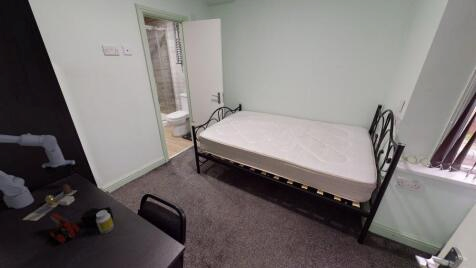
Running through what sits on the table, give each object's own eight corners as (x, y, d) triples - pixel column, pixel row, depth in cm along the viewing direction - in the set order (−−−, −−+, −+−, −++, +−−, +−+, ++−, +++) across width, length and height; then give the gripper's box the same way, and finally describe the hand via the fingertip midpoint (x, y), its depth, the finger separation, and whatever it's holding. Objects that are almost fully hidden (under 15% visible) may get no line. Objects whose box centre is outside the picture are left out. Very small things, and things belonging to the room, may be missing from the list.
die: (61, 207, 95) (58, 201, 93) (68, 201, 99) (66, 195, 97) (68, 207, 95) (66, 201, 93) (75, 201, 98) (73, 196, 97)
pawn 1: (45, 206, 94) (41, 197, 91) (52, 200, 97) (48, 192, 95) (52, 206, 93) (47, 198, 91) (59, 201, 97) (55, 193, 95)
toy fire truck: (65, 246, 74) (55, 229, 71) (50, 236, 79) (40, 219, 75) (83, 233, 80) (76, 216, 76) (68, 224, 85) (60, 207, 81)
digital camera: (114, 215, 90) (111, 204, 87) (110, 224, 85) (106, 213, 82) (91, 219, 87) (86, 209, 85) (85, 228, 82) (80, 217, 80)
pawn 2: (61, 194, 102) (58, 186, 100) (68, 190, 105) (64, 182, 103) (68, 194, 102) (64, 187, 99) (74, 190, 105) (70, 182, 103)
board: (22, 221, 86) (21, 219, 85) (66, 191, 106) (65, 189, 106) (37, 222, 85) (36, 220, 85) (78, 191, 106) (77, 190, 105)
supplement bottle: (116, 225, 84) (111, 209, 81) (106, 235, 79) (100, 219, 76) (107, 222, 86) (102, 207, 82) (97, 232, 81) (90, 216, 77)
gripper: (33, 161, 94) (44, 181, 99) (66, 157, 97) (74, 177, 103) (43, 155, 100) (52, 174, 105) (73, 152, 104) (81, 171, 109)
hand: (64, 175), depth 104 cm, fingers open, 7 cm apart
